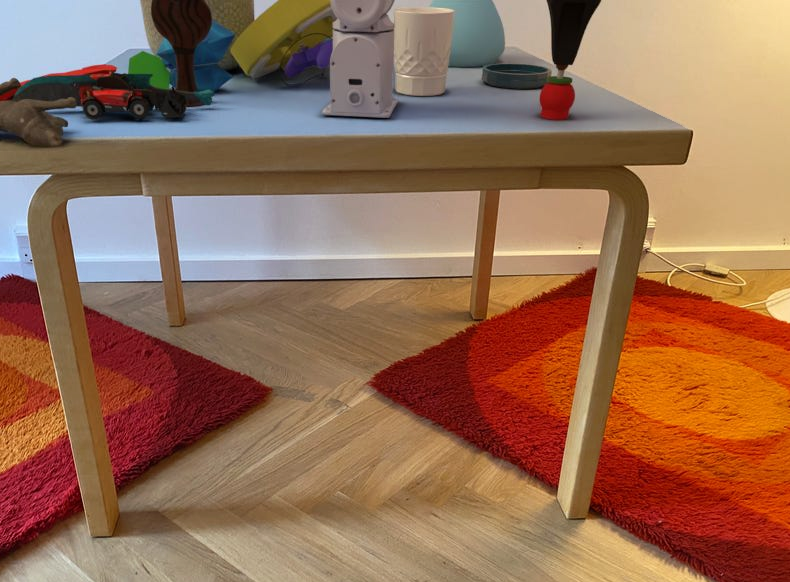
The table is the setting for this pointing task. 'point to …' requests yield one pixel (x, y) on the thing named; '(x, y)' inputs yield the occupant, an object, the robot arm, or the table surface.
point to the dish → (516, 75)
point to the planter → (227, 8)
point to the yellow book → (282, 34)
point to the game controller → (309, 58)
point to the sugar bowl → (474, 32)
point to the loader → (126, 98)
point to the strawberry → (557, 96)
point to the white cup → (422, 49)
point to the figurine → (183, 35)
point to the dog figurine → (33, 118)
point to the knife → (64, 88)
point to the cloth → (84, 71)
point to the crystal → (203, 59)
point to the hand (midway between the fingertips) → (562, 63)
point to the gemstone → (150, 69)
